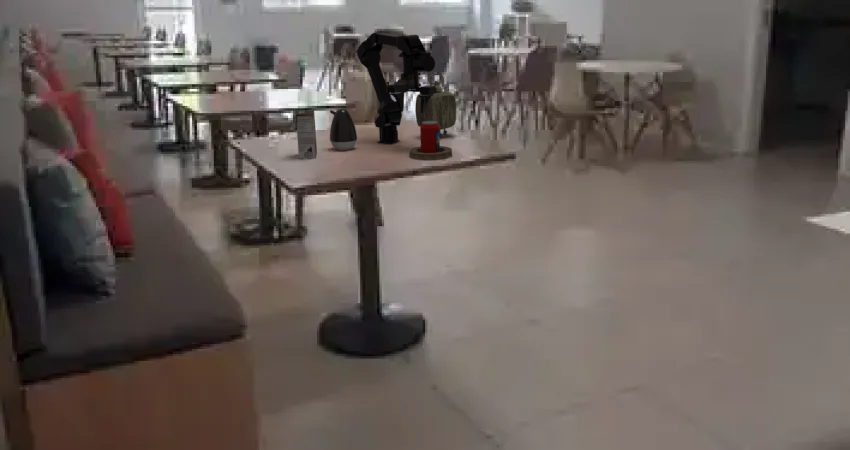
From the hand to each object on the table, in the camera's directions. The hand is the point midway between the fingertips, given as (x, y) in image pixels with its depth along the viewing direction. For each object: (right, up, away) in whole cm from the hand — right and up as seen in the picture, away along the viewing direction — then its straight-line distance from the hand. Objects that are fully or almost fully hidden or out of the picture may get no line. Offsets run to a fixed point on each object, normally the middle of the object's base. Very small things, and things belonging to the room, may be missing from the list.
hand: (412, 112), depth 305 cm
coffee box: (-38, -17, -7) cm, 42 cm away
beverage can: (+7, -17, -11) cm, 22 cm away
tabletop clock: (+10, -7, +22) cm, 25 cm away
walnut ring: (+7, -17, -11) cm, 22 cm away
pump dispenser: (-26, -13, +4) cm, 29 cm away
